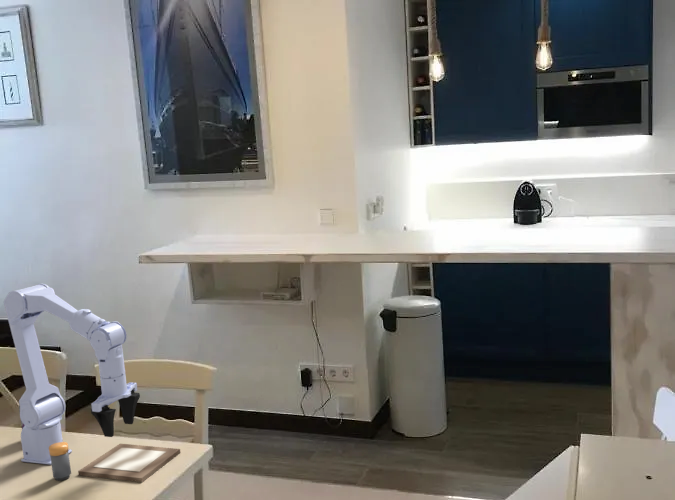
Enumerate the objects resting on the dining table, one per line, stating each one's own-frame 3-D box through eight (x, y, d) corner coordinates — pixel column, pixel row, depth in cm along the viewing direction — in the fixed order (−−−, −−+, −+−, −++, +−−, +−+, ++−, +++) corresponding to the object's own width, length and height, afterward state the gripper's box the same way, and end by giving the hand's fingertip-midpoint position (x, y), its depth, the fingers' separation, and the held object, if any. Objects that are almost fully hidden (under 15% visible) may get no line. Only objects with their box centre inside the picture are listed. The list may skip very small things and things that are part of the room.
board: (78, 475, 171) (77, 470, 171) (120, 447, 186) (120, 442, 186) (142, 482, 165) (141, 477, 165) (180, 452, 180) (179, 448, 179)
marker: (49, 480, 169) (44, 448, 168) (61, 473, 173) (57, 441, 172) (63, 482, 168) (59, 450, 167) (75, 474, 172) (71, 442, 170)
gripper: (107, 386, 161) (114, 443, 163) (145, 365, 174) (151, 419, 176) (81, 384, 163) (88, 441, 165) (120, 364, 177) (127, 417, 179)
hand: (119, 429), depth 171 cm, fingers open, 7 cm apart
